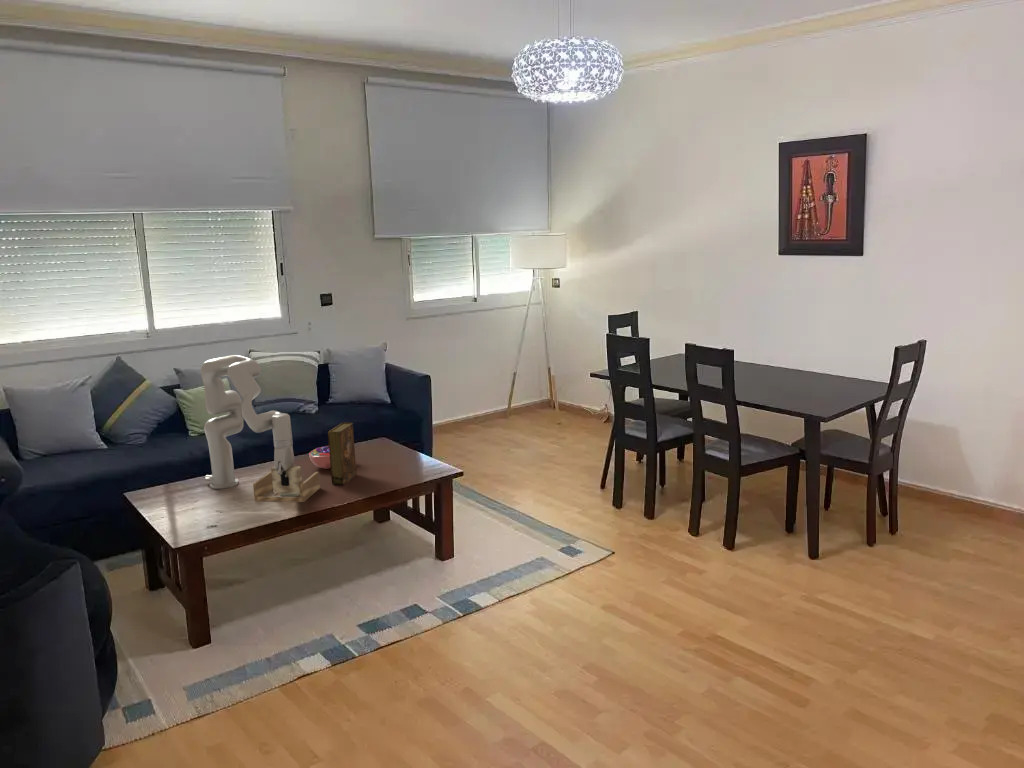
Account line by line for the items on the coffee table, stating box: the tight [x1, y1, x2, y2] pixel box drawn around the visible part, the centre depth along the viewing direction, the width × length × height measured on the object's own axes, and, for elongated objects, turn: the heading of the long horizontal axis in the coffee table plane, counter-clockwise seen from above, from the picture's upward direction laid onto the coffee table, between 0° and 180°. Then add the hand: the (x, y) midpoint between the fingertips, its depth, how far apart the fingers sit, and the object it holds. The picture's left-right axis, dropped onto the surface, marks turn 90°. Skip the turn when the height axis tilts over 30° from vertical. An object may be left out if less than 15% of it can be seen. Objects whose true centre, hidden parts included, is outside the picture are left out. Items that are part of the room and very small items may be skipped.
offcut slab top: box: [279, 493, 301, 497], centre depth 337 cm, size 8×4×1 cm, turn 81°
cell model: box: [308, 445, 331, 470], centre depth 374 cm, size 17×20×11 cm
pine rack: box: [252, 470, 321, 503], centre depth 337 cm, size 22×17×8 cm
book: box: [327, 422, 357, 486], centre depth 353 cm, size 16×6×25 cm, turn 168°
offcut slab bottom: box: [273, 493, 301, 497], centre depth 337 cm, size 12×4×1 cm, turn 81°
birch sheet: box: [270, 465, 303, 494], centre depth 330 cm, size 12×3×11 cm, turn 82°
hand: (287, 483), depth 330 cm, fingers closed on birch sheet, 3 cm apart
